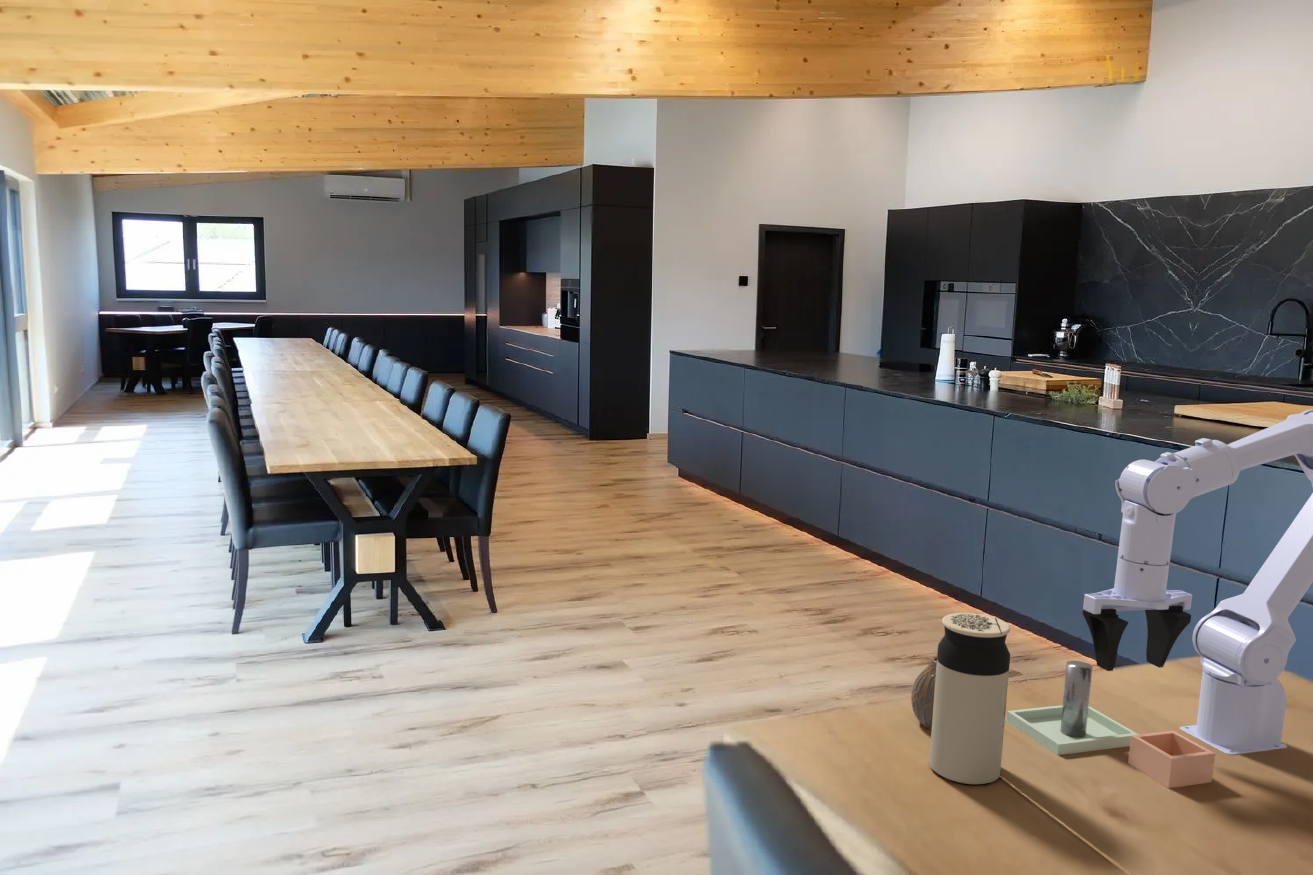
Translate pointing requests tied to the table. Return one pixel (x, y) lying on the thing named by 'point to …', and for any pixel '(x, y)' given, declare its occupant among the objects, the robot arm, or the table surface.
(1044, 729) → the tray
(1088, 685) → the dowel
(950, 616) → the travel mug
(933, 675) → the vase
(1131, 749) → the salmon open box
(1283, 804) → the table surface
